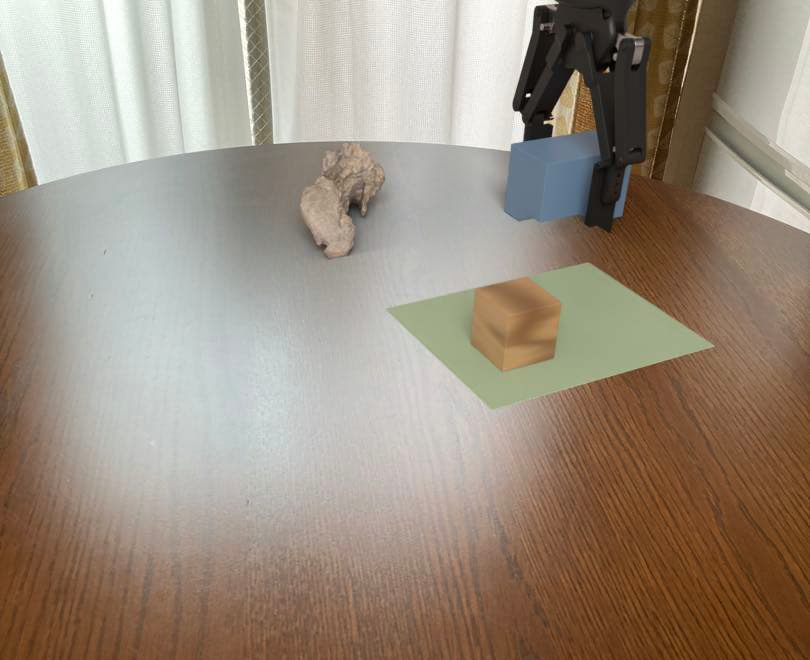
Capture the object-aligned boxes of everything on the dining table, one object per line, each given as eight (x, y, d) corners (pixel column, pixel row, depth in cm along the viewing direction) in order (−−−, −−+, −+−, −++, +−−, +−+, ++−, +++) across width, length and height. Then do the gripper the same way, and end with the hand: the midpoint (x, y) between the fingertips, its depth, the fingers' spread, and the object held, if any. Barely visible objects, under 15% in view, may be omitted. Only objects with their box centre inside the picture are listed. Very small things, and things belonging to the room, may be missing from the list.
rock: (285, 253, 82) (280, 172, 78) (335, 195, 93) (334, 121, 88) (347, 262, 81) (346, 181, 77) (391, 203, 92) (393, 128, 87)
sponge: (585, 195, 95) (596, 129, 90) (622, 216, 91) (634, 148, 87) (504, 211, 91) (510, 143, 87) (538, 234, 87) (547, 164, 83)
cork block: (520, 331, 71) (527, 276, 68) (554, 358, 68) (562, 302, 65) (470, 344, 69) (474, 288, 66) (502, 372, 66) (508, 315, 63)
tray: (586, 274, 81) (588, 261, 80) (711, 359, 71) (715, 345, 70) (384, 322, 74) (384, 308, 73) (490, 424, 63) (492, 409, 62)
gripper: (489, -73, 82) (470, 178, 97) (654, -22, 67) (603, 265, 82) (558, -77, 85) (530, 167, 100) (732, -29, 70) (668, 250, 85)
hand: (563, 211), depth 91 cm, fingers open, 10 cm apart
